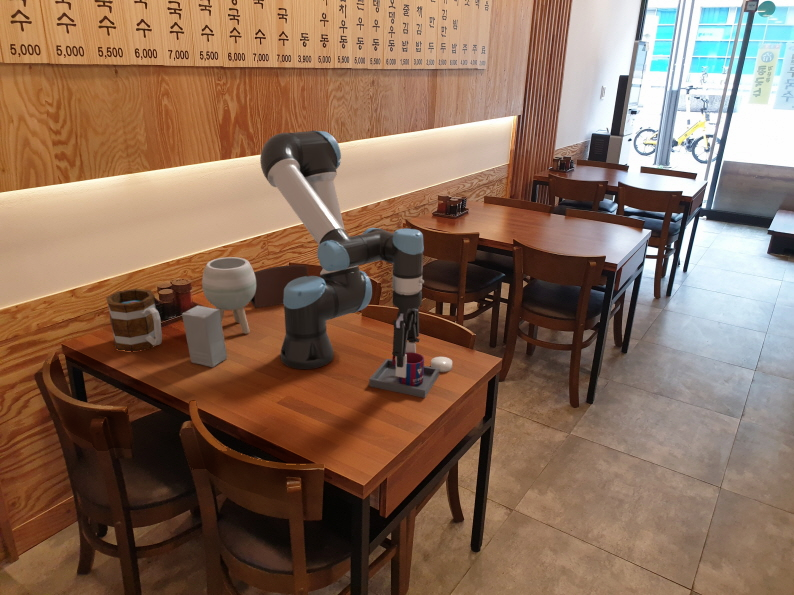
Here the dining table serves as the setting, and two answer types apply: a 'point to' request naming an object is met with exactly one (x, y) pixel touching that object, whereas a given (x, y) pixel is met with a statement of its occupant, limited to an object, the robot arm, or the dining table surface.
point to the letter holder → (275, 284)
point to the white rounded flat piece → (442, 364)
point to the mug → (134, 320)
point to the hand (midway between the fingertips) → (405, 370)
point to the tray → (390, 381)
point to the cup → (412, 369)
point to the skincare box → (204, 336)
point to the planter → (230, 286)
